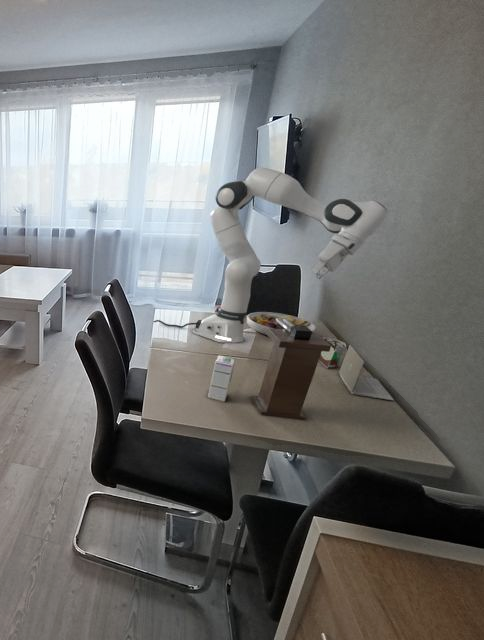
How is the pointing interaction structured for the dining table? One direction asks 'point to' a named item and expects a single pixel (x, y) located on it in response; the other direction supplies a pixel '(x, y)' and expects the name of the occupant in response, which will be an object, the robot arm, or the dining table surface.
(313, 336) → the stand
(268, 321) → the bowl
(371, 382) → the laptop
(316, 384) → the dining table surface
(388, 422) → the dining table surface
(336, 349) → the food container
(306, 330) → the twin chrome rods
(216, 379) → the syrup box
